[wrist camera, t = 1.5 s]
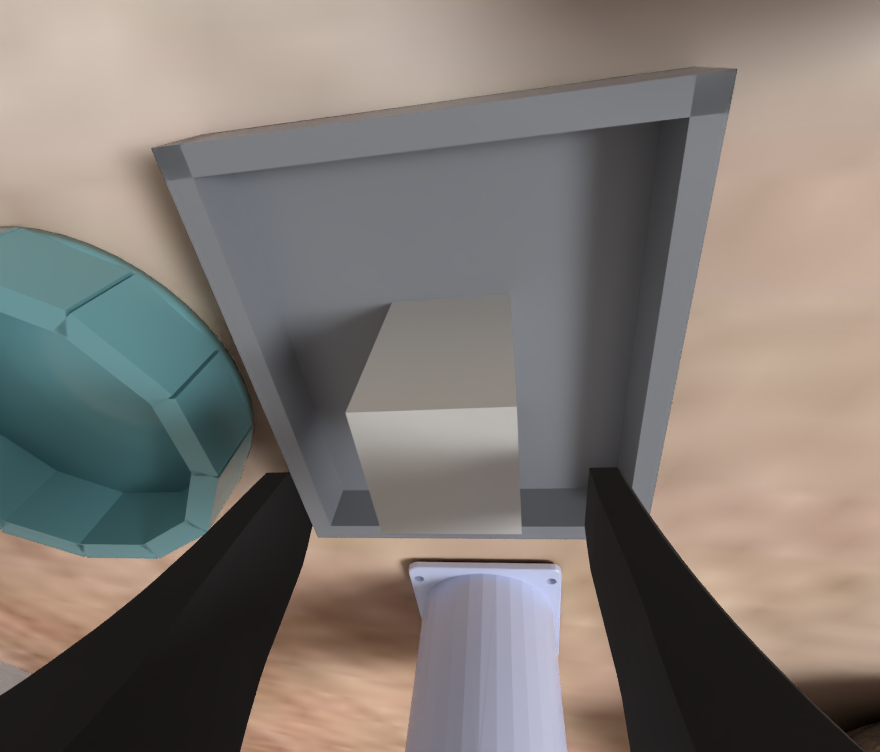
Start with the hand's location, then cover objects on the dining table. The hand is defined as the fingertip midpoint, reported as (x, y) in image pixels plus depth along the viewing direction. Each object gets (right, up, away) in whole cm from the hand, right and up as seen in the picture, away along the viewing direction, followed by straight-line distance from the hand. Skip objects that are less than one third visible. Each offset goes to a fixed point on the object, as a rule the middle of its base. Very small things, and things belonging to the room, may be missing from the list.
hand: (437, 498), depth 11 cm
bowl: (-15, +2, +9) cm, 18 cm away
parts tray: (+1, +4, +6) cm, 7 cm away
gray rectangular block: (+1, +4, +5) cm, 7 cm away
